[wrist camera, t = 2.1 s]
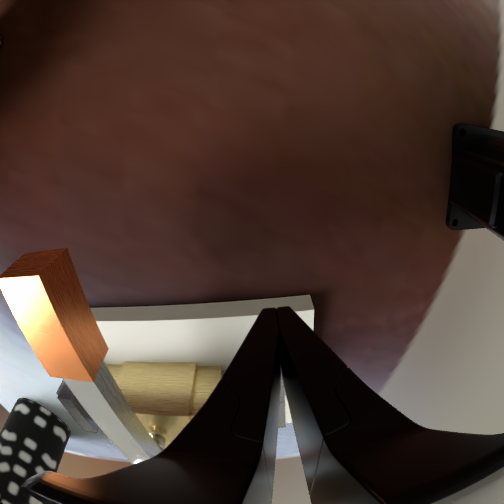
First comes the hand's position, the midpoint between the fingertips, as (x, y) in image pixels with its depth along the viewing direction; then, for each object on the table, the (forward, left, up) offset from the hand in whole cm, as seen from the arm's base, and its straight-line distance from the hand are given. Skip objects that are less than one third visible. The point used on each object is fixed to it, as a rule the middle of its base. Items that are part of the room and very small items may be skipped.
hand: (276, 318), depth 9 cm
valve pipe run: (+8, +11, -6) cm, 14 cm away
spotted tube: (+30, +23, -8) cm, 38 cm away
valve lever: (+8, +4, -1) cm, 9 cm away
